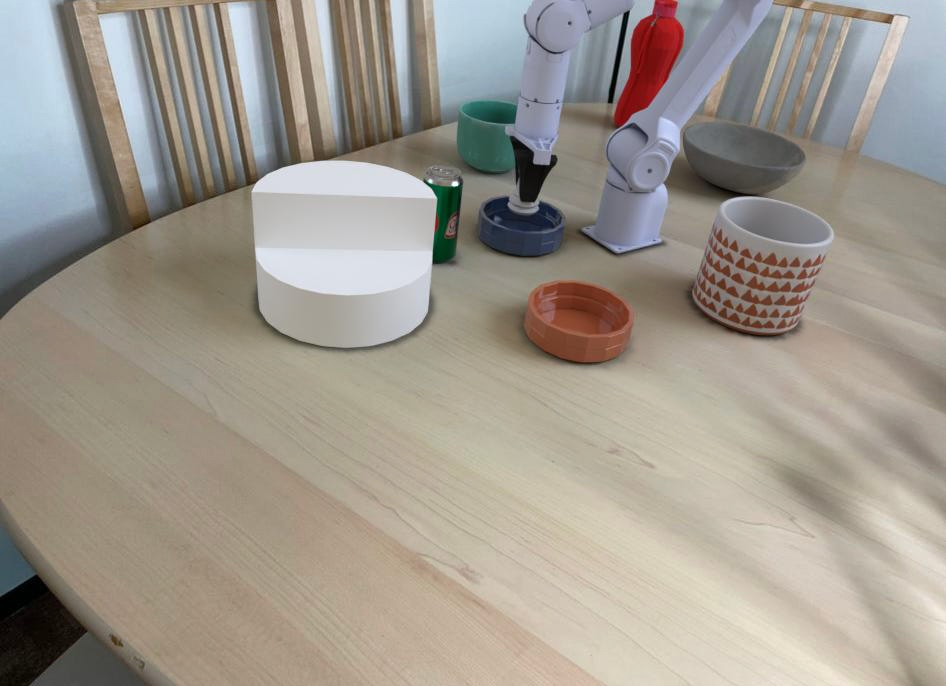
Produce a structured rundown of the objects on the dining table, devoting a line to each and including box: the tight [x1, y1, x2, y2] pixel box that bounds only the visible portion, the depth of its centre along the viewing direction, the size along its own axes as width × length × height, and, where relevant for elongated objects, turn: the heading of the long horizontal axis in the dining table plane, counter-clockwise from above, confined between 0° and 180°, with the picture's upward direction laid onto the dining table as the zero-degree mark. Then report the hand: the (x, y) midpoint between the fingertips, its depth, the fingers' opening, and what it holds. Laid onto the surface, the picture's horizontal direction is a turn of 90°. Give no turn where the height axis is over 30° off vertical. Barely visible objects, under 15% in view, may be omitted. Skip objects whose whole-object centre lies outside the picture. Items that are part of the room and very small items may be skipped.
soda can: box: [422, 164, 464, 264], centre depth 97 cm, size 5×5×12 cm
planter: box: [691, 196, 835, 336], centre depth 94 cm, size 14×14×13 cm
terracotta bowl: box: [523, 279, 635, 363], centre depth 87 cm, size 12×12×4 cm
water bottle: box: [613, 0, 685, 128], centre depth 148 cm, size 9×11×25 cm
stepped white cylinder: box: [250, 160, 437, 349], centre depth 85 cm, size 20×20×13 cm
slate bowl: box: [476, 195, 567, 257], centre depth 106 cm, size 12×12×4 cm
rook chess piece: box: [508, 171, 540, 215], centre depth 103 cm, size 4×4×8 cm
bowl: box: [682, 121, 807, 195], centre depth 132 cm, size 21×21×8 cm
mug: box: [456, 99, 518, 174], centre depth 128 cm, size 17×13×10 cm
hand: (525, 195), depth 104 cm, fingers closed on rook chess piece, 3 cm apart
